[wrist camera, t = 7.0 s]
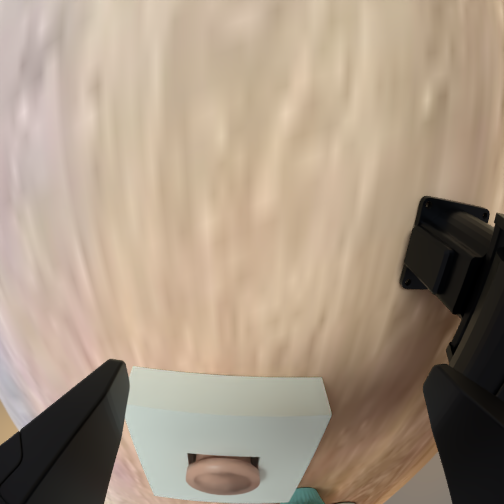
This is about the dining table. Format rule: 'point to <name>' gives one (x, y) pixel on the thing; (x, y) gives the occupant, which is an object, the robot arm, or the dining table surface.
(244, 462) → the button
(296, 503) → the cupcake
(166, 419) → the button box
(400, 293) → the dining table surface
